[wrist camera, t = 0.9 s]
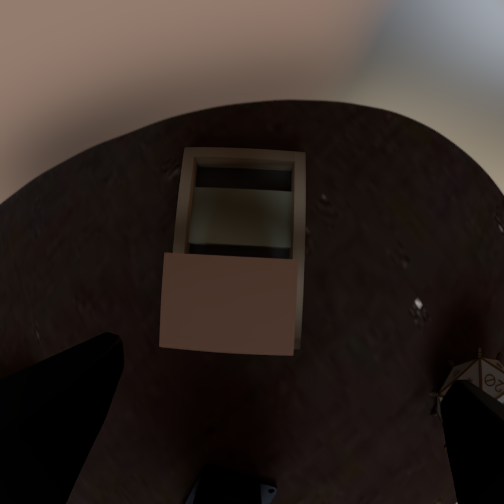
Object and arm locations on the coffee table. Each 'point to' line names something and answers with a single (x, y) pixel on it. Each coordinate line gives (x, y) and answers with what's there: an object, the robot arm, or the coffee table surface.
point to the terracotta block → (228, 304)
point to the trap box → (244, 207)
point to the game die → (475, 378)
